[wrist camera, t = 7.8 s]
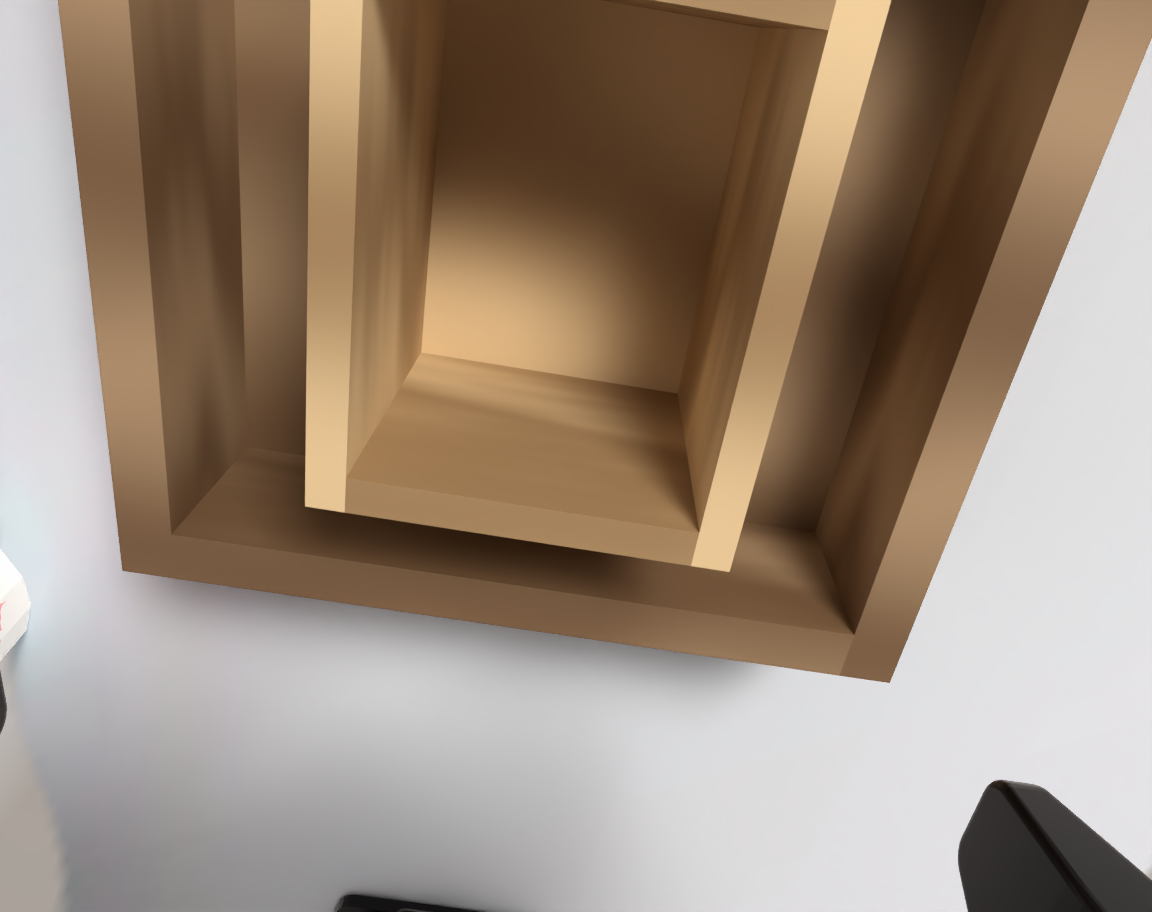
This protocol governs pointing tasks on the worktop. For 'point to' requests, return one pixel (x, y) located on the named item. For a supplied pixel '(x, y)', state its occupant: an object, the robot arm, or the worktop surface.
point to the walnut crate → (810, 388)
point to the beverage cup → (12, 605)
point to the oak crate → (566, 257)
